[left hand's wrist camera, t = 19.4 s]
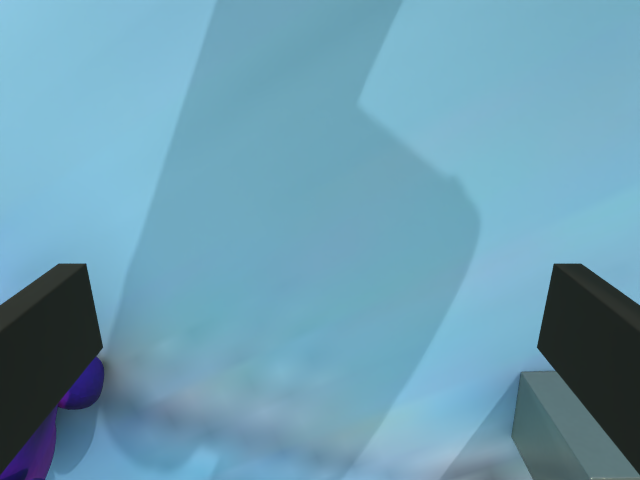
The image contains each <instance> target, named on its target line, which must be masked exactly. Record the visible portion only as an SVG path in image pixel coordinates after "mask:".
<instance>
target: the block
mask: <svg viewBox="0 0 640 480" xmlns="http://www.w3.org/2000/svg"><path fill="white" fill-rule="evenodd" d="M512 439H513V441H514V443H515V445H516V447H517V449H518V451H519V453H520V455H521V457H522V459H523V461H524V462H525V464H526V466H527V468H528V470H529V472H530V474H531V476H532V478H533V480H640V475H639V474H638V472H637V471H636V470H635V469H634V467H633V466H632V465H631V464H630V462H629V461H628V460H627V459H626V457H625V456H624V455H623V454H622V453H621V451H620V450H619V449H618V448H617V446H616V445H615V444H614V443H613V441H612V440H611V439H610V438H609V436H608V435H607V434H606V433H605V431H604V430H603V429H602V428H601V426H600V425H599V424H598V423H597V421H596V420H595V419H594V418H593V416H592V415H591V414H590V413H589V411H588V410H587V409H586V408H585V407H584V405H583V404H582V403H581V402H580V400H579V399H578V398H577V397H576V395H575V394H574V393H573V392H572V390H571V389H570V388H569V387H568V385H567V384H566V383H565V382H564V380H563V379H562V378H561V377H560V375H559V374H558V373H557V372H556V371H540V372H521V376H520V383H519V390H518V397H517V404H516V410H515V417H514V424H513V431H512Z"/></svg>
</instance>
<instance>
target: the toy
mask: <svg viewBox="0 0 640 480" xmlns="http://www.w3.org/2000/svg"><path fill="white" fill-rule="evenodd" d="M103 381H104V367H103V364H102V362H101V361H100V360H99V358H97V357H95V358H94V359H93V361H92V362H91V363H90V364H89V366H88V367H87V368H86V369H85V370H84V372H83V373H82V374H81V375H80V377H79V378H78V379H77V380H76V382H75V383H74V384H73V385H72V387H71V388H70V389H69V390H68V392H67V393H66V394H65V395H64V397H63V398H62V399H61V400H60V402H59V403H58V404H57V405H56V407H55V408H54V409H53V410H52V411H51V413H50V414H49V415H48V416H47V418H46V419H45V420H44V421H43V423H42V424H41V425H40V426H39V428H38V429H37V430H36V431H35V433H34V434H33V435H32V436H31V438H30V439H29V440H28V441H27V443H26V444H25V445H24V446H23V448H22V449H21V450H20V451H19V453H18V454H17V455H16V456H15V457H14V459H13V460H12V461H11V462H10V464H9V465H8V466H7V467H6V469H5V470H4V471H3V472H2V474H1V475H0V480H45V478H46V476H47V473H48V470H49V468H50V465H51V462H52V458H53V454H54V449H55V442H56V425H55V419H56V414H57V406H58V407H60V408H64V409H68V410H75V409H83V408H86V407H89V406H91V405H92V404H93V403H95V402H96V401H97V399H98V398H99V396H100V394H101V391H102V387H103Z"/></svg>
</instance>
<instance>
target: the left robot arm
mask: <svg viewBox="0 0 640 480" xmlns="http://www.w3.org/2000/svg"><path fill="white" fill-rule="evenodd" d="M102 348H103V345H102V340H101V335H100V330H99V325H98V320H97V315H96V310H95V305H94V300H93V295H92V290H91V285H90V280H89V276H88V271H87V266H86V264H58V265H56V266H55V267H53V268H52V269H51V270H49V271H48V272H46V273H45V274H44V275H42V276H41V277H39V278H38V279H37V280H35V281H34V282H32V283H31V284H30V285H28V286H27V287H25V288H24V289H23V290H21V291H20V292H18V293H17V294H16V295H14V296H13V297H11V298H10V299H9V300H7V301H6V302H4V303H3V304H1V305H0V475H1V474H2V472H3V471H4V470H5V469H6V467H7V466H8V465H9V464H10V462H11V461H12V460H13V459H14V457H15V456H16V455H17V454H18V453H19V451H20V450H21V449H22V448H23V446H24V445H25V444H26V443H27V441H28V440H29V439H30V438H31V436H32V435H33V434H34V433H35V431H36V430H37V429H38V428H39V426H40V425H41V424H42V423H43V421H44V420H45V419H46V418H47V416H48V415H49V414H50V413H51V411H52V410H53V409H54V408H55V407H56V405H57V404H58V403H59V402H60V400H61V399H62V398H63V397H64V395H65V394H66V393H67V392H68V390H69V389H70V388H71V387H72V385H73V384H74V383H75V382H76V380H77V379H78V378H79V377H80V375H81V374H82V373H83V372H84V370H85V369H86V368H87V367H88V366H89V364H90V363H91V362H92V361H93V359H94V358H95V357H96V356H97V354H98V353H99V352H100V351H101V349H102ZM537 348H538V349H539V351H540V352H541V353H542V354H543V356H544V357H545V358H546V359H547V361H548V362H549V363H550V364H551V366H552V367H553V368H554V369H555V370H556V372H557V373H558V374H559V375H560V377H561V378H562V379H563V380H564V382H565V383H566V384H567V385H568V387H569V388H570V389H571V390H572V392H573V393H574V394H575V395H576V397H577V398H578V399H579V400H580V402H581V403H582V404H583V405H584V407H585V408H586V409H587V410H588V411H589V413H590V414H591V415H592V416H593V418H594V419H595V420H596V421H597V423H598V424H599V425H600V426H601V428H602V429H603V430H604V431H605V433H606V434H607V435H608V436H609V438H610V439H611V440H612V441H613V443H614V444H615V445H616V446H617V448H618V449H619V450H620V451H621V453H622V454H623V455H624V456H625V457H626V459H627V460H628V461H629V462H630V464H631V465H632V466H633V467H634V469H635V470H636V471H637V472H638V474H639V475H640V305H639V304H637V303H636V302H634V301H633V300H631V299H630V298H629V297H627V296H626V295H624V294H623V293H622V292H620V291H619V290H617V289H616V288H615V287H613V286H612V285H610V284H609V283H608V282H606V281H605V280H603V279H602V278H601V277H599V276H598V275H596V274H595V273H594V272H592V271H591V270H589V269H588V268H587V267H585V266H584V265H582V264H554V266H553V271H552V275H551V280H550V285H549V290H548V295H547V300H546V305H545V310H544V315H543V320H542V325H541V330H540V335H539V340H538V345H537Z"/></svg>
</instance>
